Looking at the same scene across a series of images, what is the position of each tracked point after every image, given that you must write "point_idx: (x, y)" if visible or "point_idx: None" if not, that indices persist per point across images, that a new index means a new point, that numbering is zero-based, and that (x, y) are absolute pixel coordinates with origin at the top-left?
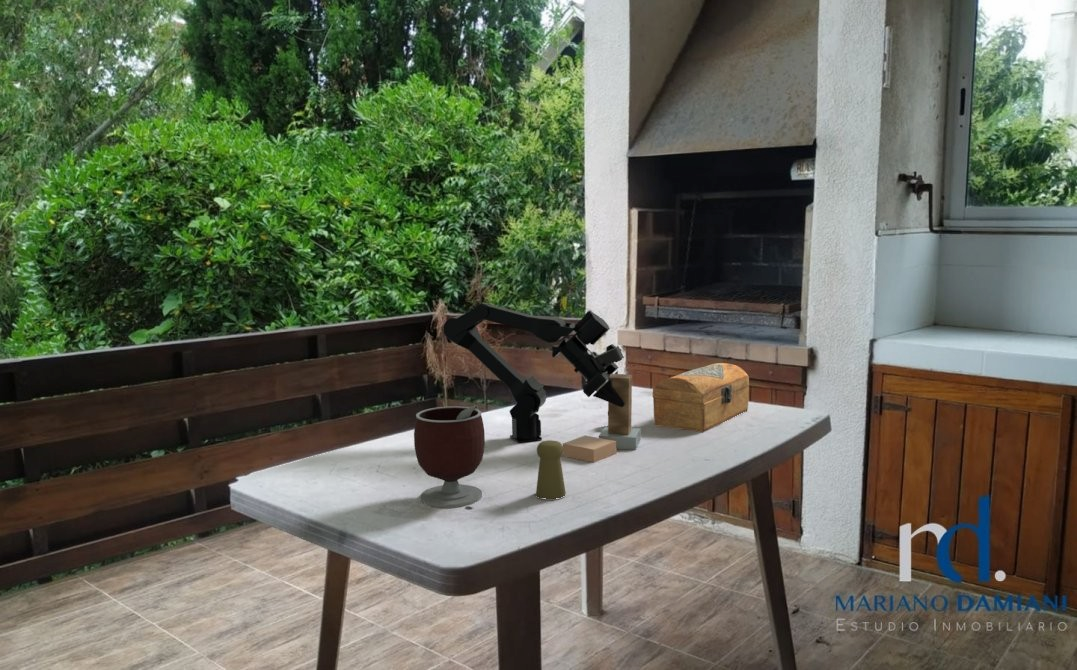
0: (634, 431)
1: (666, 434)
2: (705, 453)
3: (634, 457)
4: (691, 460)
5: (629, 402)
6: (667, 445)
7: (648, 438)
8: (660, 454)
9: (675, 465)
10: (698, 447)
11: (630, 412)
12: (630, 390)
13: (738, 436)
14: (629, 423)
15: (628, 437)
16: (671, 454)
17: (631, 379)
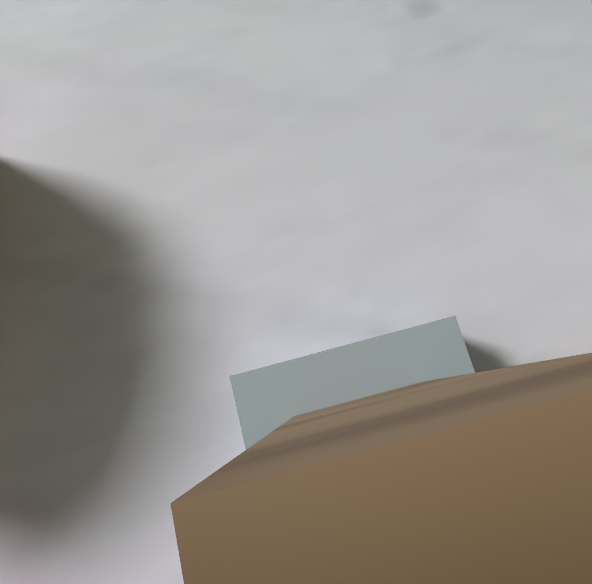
0: (319, 381)
1: (78, 296)
2: (334, 38)
3: (563, 280)
4: (465, 51)
5: (455, 381)
6: (282, 218)
7: (191, 353)
8: (447, 192)
9: (572, 80)
10: (255, 90)
11: (352, 404)
12: (409, 402)
13: (13, 9)
14: (391, 391)
15: (470, 360)
16: (421, 150)
17: (287, 453)
